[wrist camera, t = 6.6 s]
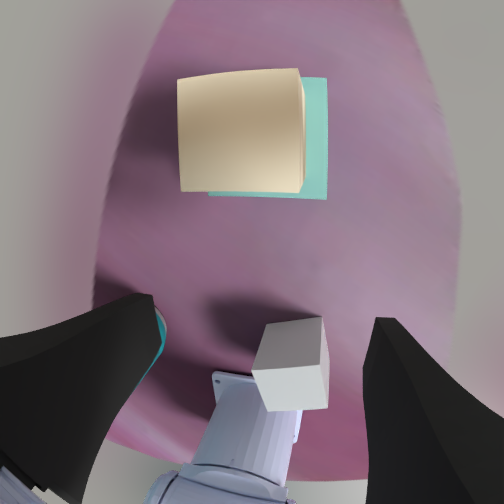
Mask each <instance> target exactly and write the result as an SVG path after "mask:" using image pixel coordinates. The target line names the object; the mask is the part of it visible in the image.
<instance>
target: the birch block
mask: <svg viewBox="0 0 504 504" xmlns="http://www.w3.org/2000/svg"><path fill="white" fill-rule="evenodd" d="M177 110H178V145H179V167H180V184H181V192H200V191H239V192H284V193H299V192H300V189H301V187H302V185H303V182H304V180H305V178H306V105H305V93H304V89H303V85H302V82H301V79H300V75H299V72H298V68H293V69H262V70H247V71H236V72H226V73H217V74H210V75H202V76H196V77H190V78H184V79H178V80H177Z"/></svg>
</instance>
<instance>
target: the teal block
mask: <svg viewBox="0 0 504 504" xmlns="http://www.w3.org/2000/svg"><path fill="white" fill-rule="evenodd" d="M300 79H301V82H302V85H303V89H304V93H305V105H306V178H305V180H304V182H303V185H302V187H301V189H300V192H299V193H284V192H239V191H208V196H250V197H283V198H306V199H325V200H327V168H328V107H327V78H311V77H300Z"/></svg>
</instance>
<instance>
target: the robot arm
mask: <svg viewBox="0 0 504 504" xmlns="http://www.w3.org/2000/svg"><path fill="white" fill-rule="evenodd" d="M161 345H162V339H161V335H160V330H159V326H158V321H157V316H156V311H155V306H154V301H153V296H152V295H149V294H142V293H135V294H132V295H129V296H126V297H123V298H121V299H118V300H115V301H113V302H111V303H108V304H106V305H103V306H101V307H99V308H96V309H94V310H91V311H89V312H87V313H84V314H82V315H79V316H77V317H74V318H71V319H69V320H66V321H63V322H61V323H58V324H55V325H52V326H49V327H46V328H43V329H40V330H36V331H32V332H28V333H24V334H18V335H13V336H8V337H2V338H0V504H47V503H46V502H44V501H43V500H42V499H41V498H39V497H38V496H37V495H36V494H35V493H33V492H32V491H31V490H32V489H33V487H34V486H37V487H38V488H39V489H40V490H41V491H43V492H45V491H46V490H47V489H50V490H51V491H52V492H54V493H55V494H56V495H58V496H59V497H61V498H62V499H63V500H65V501H66V502H68V503H69V504H82V499H83V495H84V492H85V488H86V484H87V481H88V477H89V475H90V472H91V469H92V466H93V464H94V461H95V458H96V456H97V454H98V451H99V449H100V447H101V445H102V442H103V440H104V438H105V436H106V434H107V432H108V430H109V428H110V426H111V424H112V422H113V420H114V419H115V417H116V415H117V414H118V412H119V411H120V409H121V408H122V406H123V405H124V403H125V402H126V400H127V399H128V398H129V396H130V395H131V393H132V392H133V391H134V389H135V388H136V386H137V385H138V384H139V382H140V381H141V379H142V378H143V376H144V375H145V374H146V372H147V371H148V369H149V368H150V366H151V365H152V363H153V361H154V359H155V357H156V355H157V353H158V351H159V349H160V347H161ZM212 381H213V387H214V394H215V400H216V407H215V410H214V412H213V414H212V417H211V419H210V421H209V423H208V426H207V428H206V430H205V433H204V435H203V437H202V439H201V442H200V444H199V446H198V448H197V450H196V453H195V455H194V457H193V459H192V462H191V464H188V463H184V464H183V466H182V468H181V470H180V472H177V471H174V470H172V471H169V472H167V473H165V474H163V475H161V476H159V477H158V478H157V479H156V481H155V482H154V483H153V485H152V486H151V488H150V489H149V491H148V493H147V495H146V497H145V499H144V502H143V504H296V502H295V501H294V500H291V499H286V498H287V493H288V488H287V487H284V485H285V481H286V476H287V471H288V466H289V461H290V455H291V450H292V444H293V443H296V442H297V438H298V433H299V428H300V423H301V417H302V412H303V410H296V411H271V412H267V409H266V407H265V404H264V402H263V399H262V397H261V394H260V392H259V389H258V386H257V384H256V381H255V379H254V377H251V376H244V375H238V374H231V373H225V372H220V371H215V372H213V374H212ZM363 401H364V410H365V419H366V429H367V439H368V451H369V473H368V486H367V496H366V504H504V418H502V417H501V416H499V415H498V414H496V413H495V412H493V411H492V410H491V409H489V408H488V407H486V406H485V405H484V404H482V403H481V402H480V401H479V400H477V399H476V398H475V397H474V396H473V395H471V394H470V393H469V392H468V391H466V390H465V389H464V388H463V387H462V386H460V384H458V383H457V382H456V381H455V380H454V379H453V378H452V377H451V376H450V375H449V374H448V373H447V372H446V371H445V370H444V369H443V368H442V367H441V366H440V365H439V364H438V363H437V362H436V361H435V360H434V359H433V358H432V357H431V356H430V355H429V354H428V353H427V352H426V351H425V350H424V348H423V347H422V346H421V345H420V344H419V343H418V342H417V341H416V340H415V339H414V338H413V336H412V335H411V334H410V333H409V332H408V331H407V330H406V329H405V328H404V327H403V326H402V325H401V324H400V323H399V322H398V321H397V320H396V319H395V318H384V317H376V319H375V323H374V327H373V331H372V335H371V339H370V343H369V347H368V351H367V354H366V358H365V362H364V365H363Z"/></svg>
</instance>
